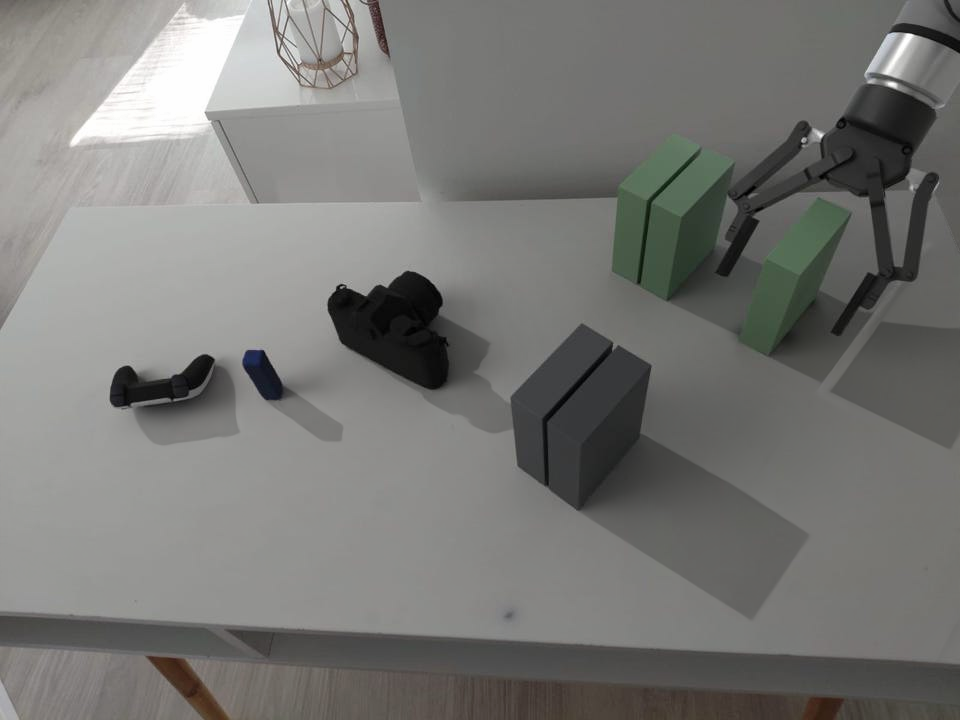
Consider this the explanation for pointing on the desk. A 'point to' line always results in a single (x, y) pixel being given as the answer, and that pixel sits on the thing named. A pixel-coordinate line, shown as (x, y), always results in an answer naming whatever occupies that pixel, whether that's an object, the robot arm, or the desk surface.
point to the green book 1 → (645, 202)
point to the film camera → (395, 327)
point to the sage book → (793, 275)
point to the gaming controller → (160, 385)
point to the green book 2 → (685, 223)
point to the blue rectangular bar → (262, 374)
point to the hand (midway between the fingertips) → (776, 303)
